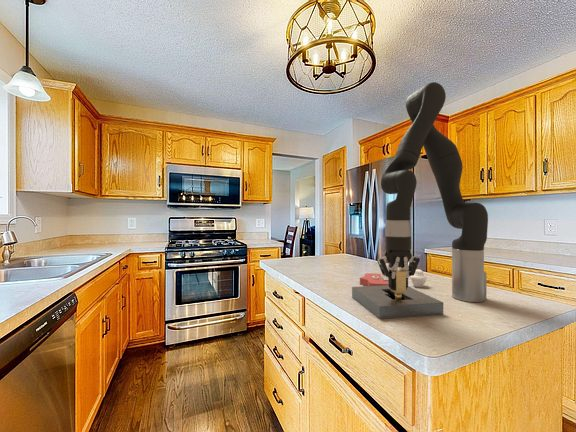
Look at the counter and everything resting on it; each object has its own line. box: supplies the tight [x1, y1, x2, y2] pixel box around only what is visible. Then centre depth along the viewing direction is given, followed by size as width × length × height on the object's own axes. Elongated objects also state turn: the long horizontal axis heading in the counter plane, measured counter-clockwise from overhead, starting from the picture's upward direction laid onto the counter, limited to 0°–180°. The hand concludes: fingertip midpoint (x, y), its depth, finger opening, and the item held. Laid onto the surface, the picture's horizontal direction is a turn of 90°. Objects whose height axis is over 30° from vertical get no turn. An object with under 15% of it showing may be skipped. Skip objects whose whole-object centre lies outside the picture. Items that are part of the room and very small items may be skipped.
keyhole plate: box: [351, 285, 444, 320], centre depth 86 cm, size 20×20×4 cm
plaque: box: [359, 272, 389, 286], centre depth 111 cm, size 18×4×15 cm
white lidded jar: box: [409, 268, 428, 288], centre depth 109 cm, size 6×6×7 cm
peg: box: [391, 268, 406, 300], centre depth 84 cm, size 5×5×12 cm
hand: (398, 289), depth 84 cm, fingers closed on peg, 3 cm apart
